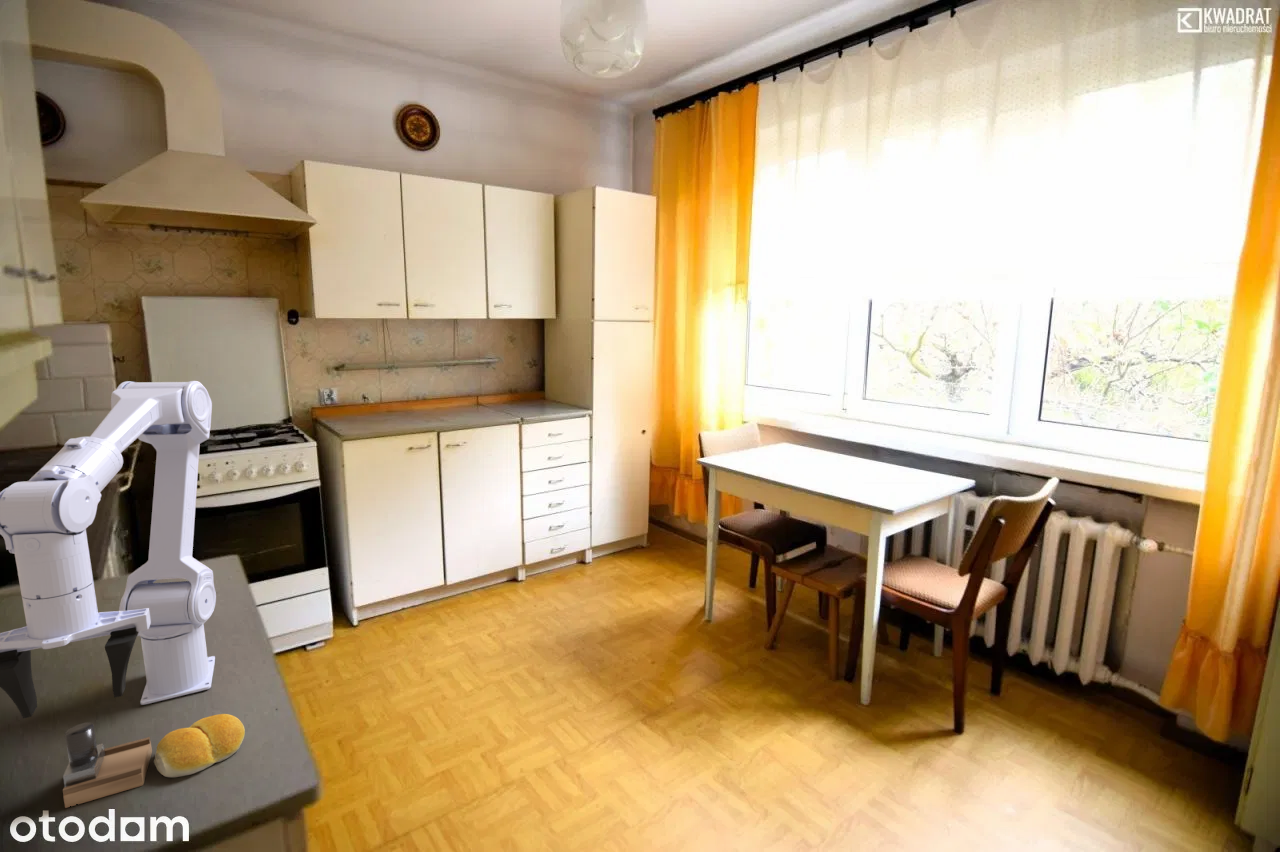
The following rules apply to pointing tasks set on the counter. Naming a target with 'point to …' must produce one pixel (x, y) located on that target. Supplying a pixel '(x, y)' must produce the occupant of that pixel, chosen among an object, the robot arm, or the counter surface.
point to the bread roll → (199, 745)
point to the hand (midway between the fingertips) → (76, 702)
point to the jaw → (82, 754)
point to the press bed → (114, 773)
